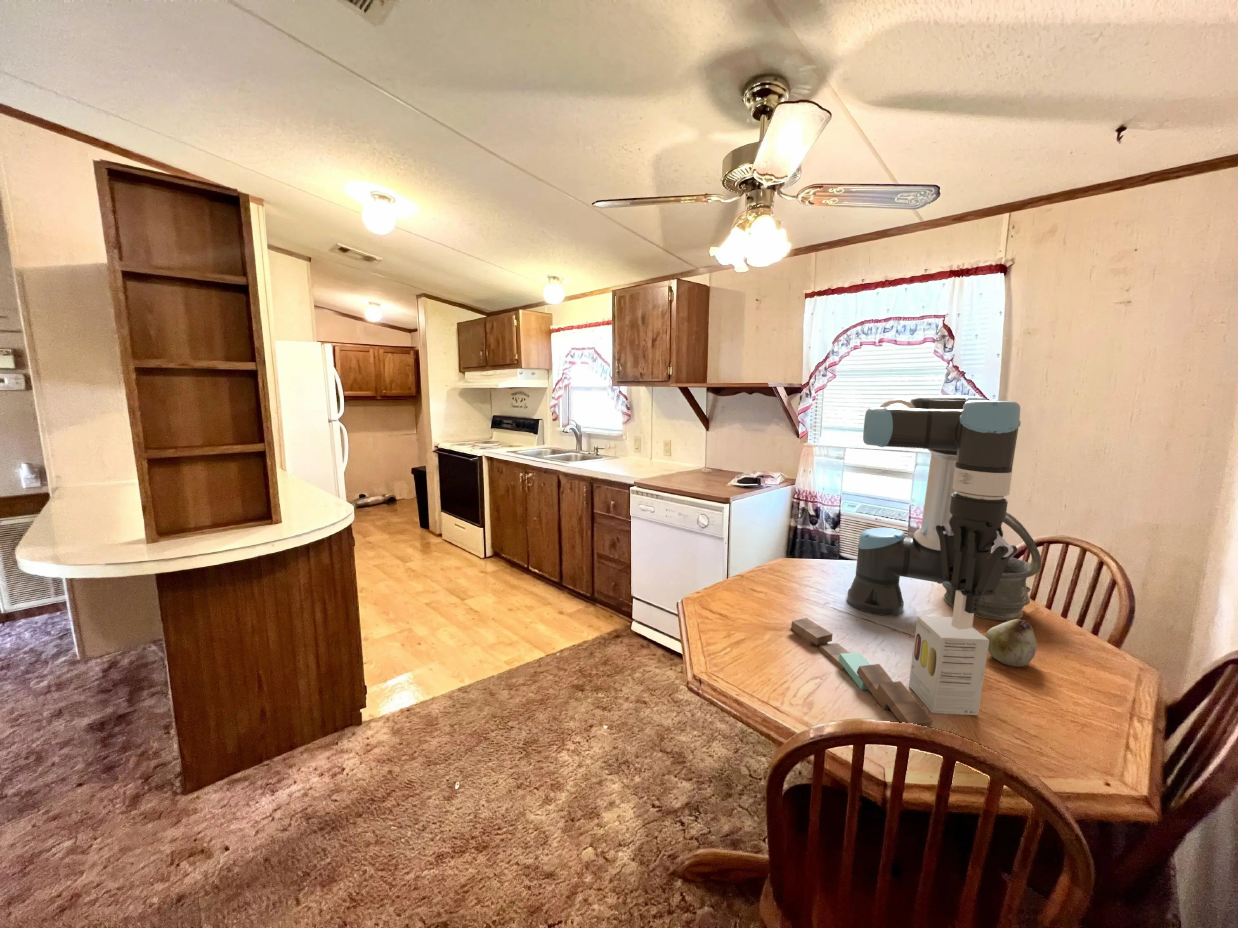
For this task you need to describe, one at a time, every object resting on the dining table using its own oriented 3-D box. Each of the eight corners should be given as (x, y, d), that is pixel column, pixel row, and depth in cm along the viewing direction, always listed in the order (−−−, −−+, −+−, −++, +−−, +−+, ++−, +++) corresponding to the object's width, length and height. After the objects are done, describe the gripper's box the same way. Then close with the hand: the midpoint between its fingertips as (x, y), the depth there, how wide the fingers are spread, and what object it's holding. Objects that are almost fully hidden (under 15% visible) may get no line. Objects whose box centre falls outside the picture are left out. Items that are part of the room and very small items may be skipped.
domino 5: (929, 727, 93) (897, 687, 101) (933, 721, 92) (900, 680, 100) (907, 731, 92) (876, 690, 100) (910, 724, 91) (879, 683, 99)
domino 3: (861, 670, 112) (836, 650, 121) (862, 663, 112) (837, 642, 121) (842, 673, 112) (819, 652, 120) (843, 665, 111) (819, 644, 120)
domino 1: (831, 640, 122) (806, 624, 130) (832, 633, 121) (806, 617, 130) (816, 645, 120) (791, 627, 128) (817, 637, 119) (791, 621, 128)
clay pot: (966, 586, 159) (978, 498, 154) (1049, 617, 137) (1066, 516, 132) (919, 596, 151) (929, 503, 146) (999, 631, 129) (1014, 524, 125)
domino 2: (827, 646, 123) (807, 628, 132) (828, 638, 123) (808, 621, 131) (809, 648, 122) (790, 630, 131) (810, 640, 122) (791, 623, 130)
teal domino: (882, 688, 105) (858, 658, 113) (884, 680, 104) (859, 652, 113) (861, 689, 104) (838, 660, 113) (863, 682, 104) (840, 653, 112)
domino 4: (904, 706, 99) (876, 669, 107) (907, 699, 98) (879, 663, 106) (883, 709, 98) (856, 672, 106) (886, 703, 97) (859, 666, 105)
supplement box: (907, 684, 106) (915, 614, 103) (950, 686, 105) (960, 615, 103) (932, 714, 97) (941, 637, 94) (979, 716, 96) (991, 639, 93)
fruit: (1019, 677, 109) (1027, 628, 107) (973, 656, 117) (980, 611, 115) (1041, 665, 114) (1049, 618, 112) (995, 646, 122) (1002, 602, 120)
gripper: (927, 487, 85) (913, 611, 88) (999, 505, 72) (978, 649, 76) (962, 485, 86) (947, 607, 90) (1038, 502, 73) (1016, 644, 77)
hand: (961, 626), depth 83 cm, fingers closed
